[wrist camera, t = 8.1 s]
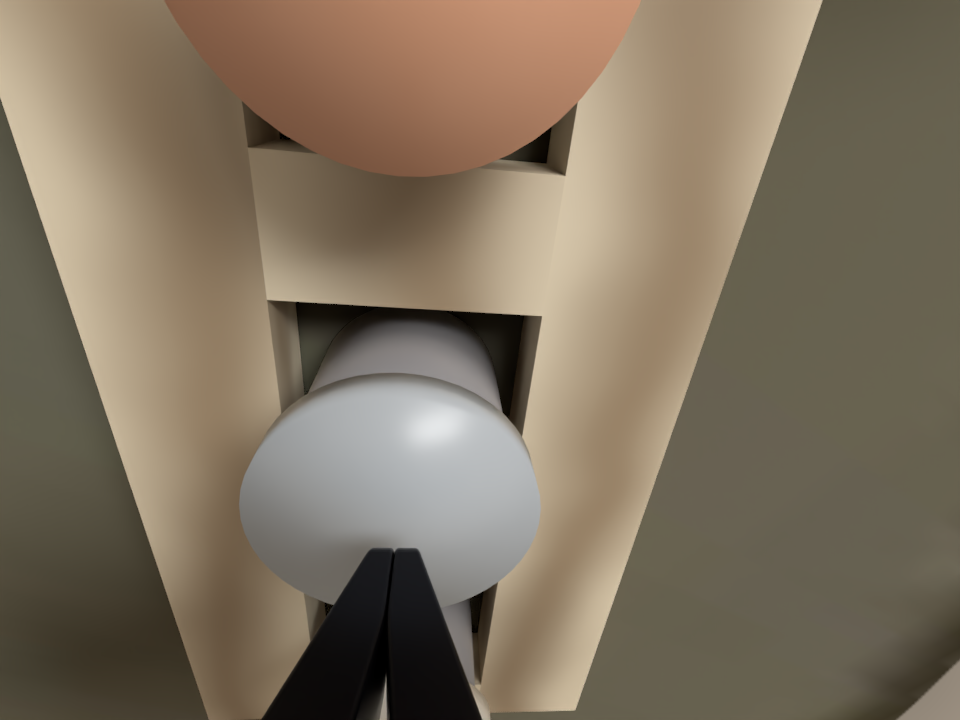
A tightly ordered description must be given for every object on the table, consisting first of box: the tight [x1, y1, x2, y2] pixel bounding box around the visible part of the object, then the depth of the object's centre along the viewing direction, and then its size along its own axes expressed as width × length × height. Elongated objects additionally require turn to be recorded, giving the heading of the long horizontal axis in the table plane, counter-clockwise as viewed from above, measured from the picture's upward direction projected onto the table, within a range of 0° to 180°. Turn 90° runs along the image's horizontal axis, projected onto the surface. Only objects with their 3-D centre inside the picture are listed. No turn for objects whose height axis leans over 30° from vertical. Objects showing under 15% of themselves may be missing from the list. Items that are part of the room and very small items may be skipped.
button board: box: [0, 0, 823, 720], centre depth 13 cm, size 14×28×2 cm, turn 175°
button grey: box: [239, 307, 541, 608], centre depth 11 cm, size 6×6×5 cm
